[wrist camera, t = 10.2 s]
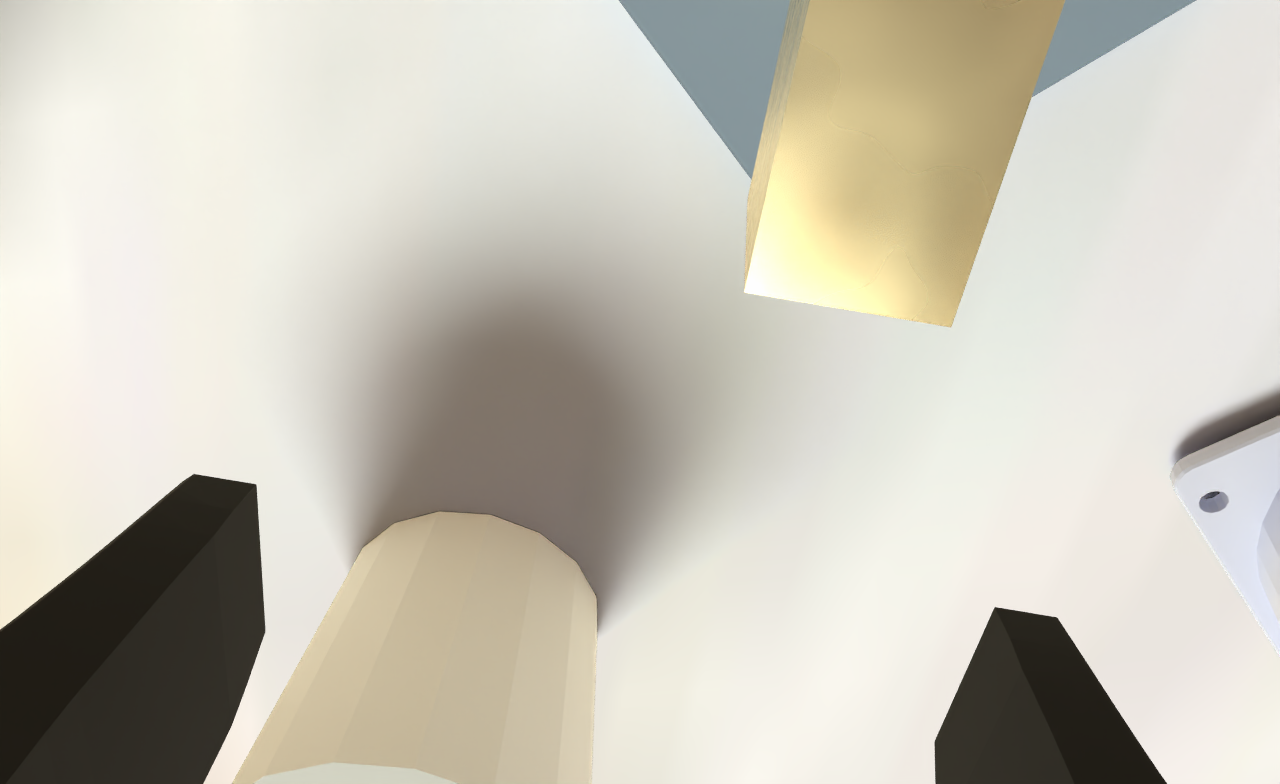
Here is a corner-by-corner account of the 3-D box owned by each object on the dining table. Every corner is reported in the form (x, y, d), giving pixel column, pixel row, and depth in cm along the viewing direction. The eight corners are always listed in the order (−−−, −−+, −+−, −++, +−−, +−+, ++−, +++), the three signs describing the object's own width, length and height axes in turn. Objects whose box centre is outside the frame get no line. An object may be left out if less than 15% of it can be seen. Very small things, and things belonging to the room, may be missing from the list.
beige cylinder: (656, 527, 25) (622, 818, 19) (596, 733, 29) (554, 1023, 23) (330, 457, 25) (199, 732, 19) (315, 675, 29) (203, 955, 23)
